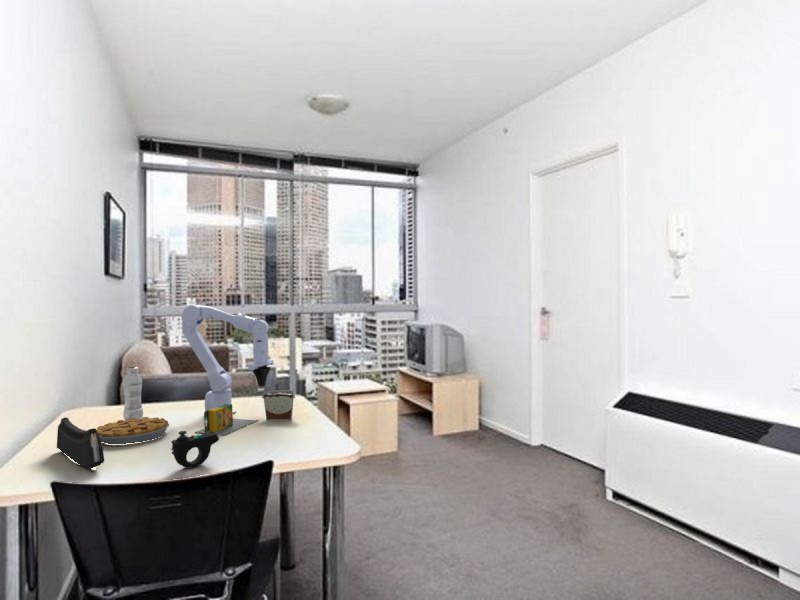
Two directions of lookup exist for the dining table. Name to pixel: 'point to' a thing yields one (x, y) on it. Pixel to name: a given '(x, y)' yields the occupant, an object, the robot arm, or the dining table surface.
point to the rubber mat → (231, 427)
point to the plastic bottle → (132, 394)
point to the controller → (187, 443)
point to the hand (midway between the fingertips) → (261, 386)
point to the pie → (132, 430)
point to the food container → (278, 404)
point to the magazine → (80, 444)
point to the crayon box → (218, 418)
